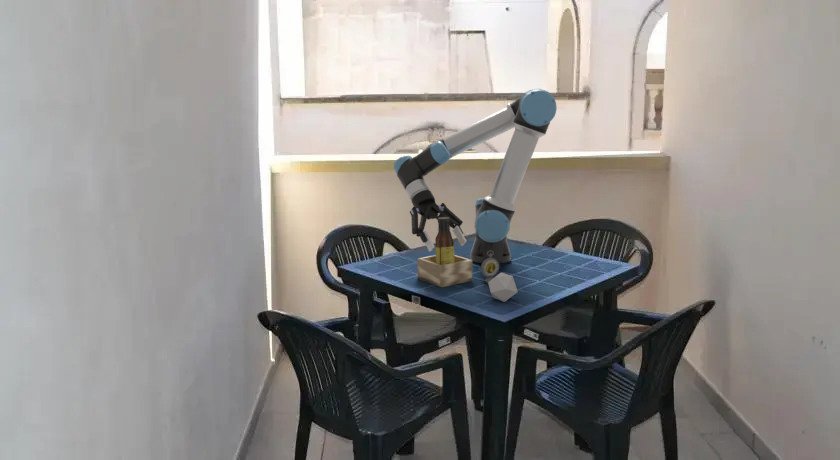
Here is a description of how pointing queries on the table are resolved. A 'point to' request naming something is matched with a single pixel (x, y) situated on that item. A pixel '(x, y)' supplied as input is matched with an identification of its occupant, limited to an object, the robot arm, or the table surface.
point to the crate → (444, 271)
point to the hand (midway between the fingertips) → (448, 246)
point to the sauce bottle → (444, 242)
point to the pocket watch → (487, 265)
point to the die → (502, 287)
